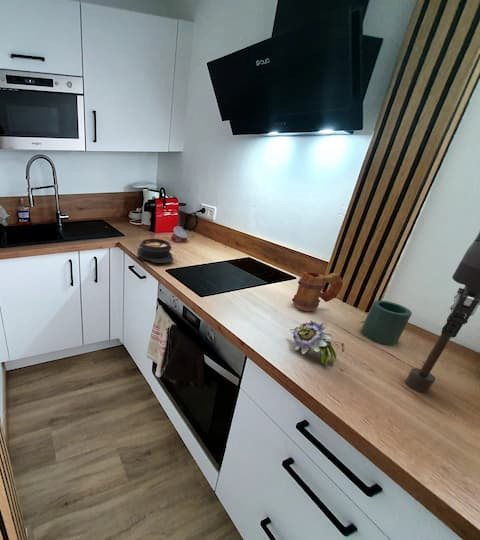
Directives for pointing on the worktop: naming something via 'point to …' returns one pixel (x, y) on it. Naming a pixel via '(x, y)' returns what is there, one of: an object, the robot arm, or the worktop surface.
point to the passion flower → (314, 340)
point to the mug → (315, 290)
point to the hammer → (427, 368)
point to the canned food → (179, 235)
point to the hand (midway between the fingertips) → (450, 328)
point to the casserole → (155, 250)
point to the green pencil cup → (385, 322)
